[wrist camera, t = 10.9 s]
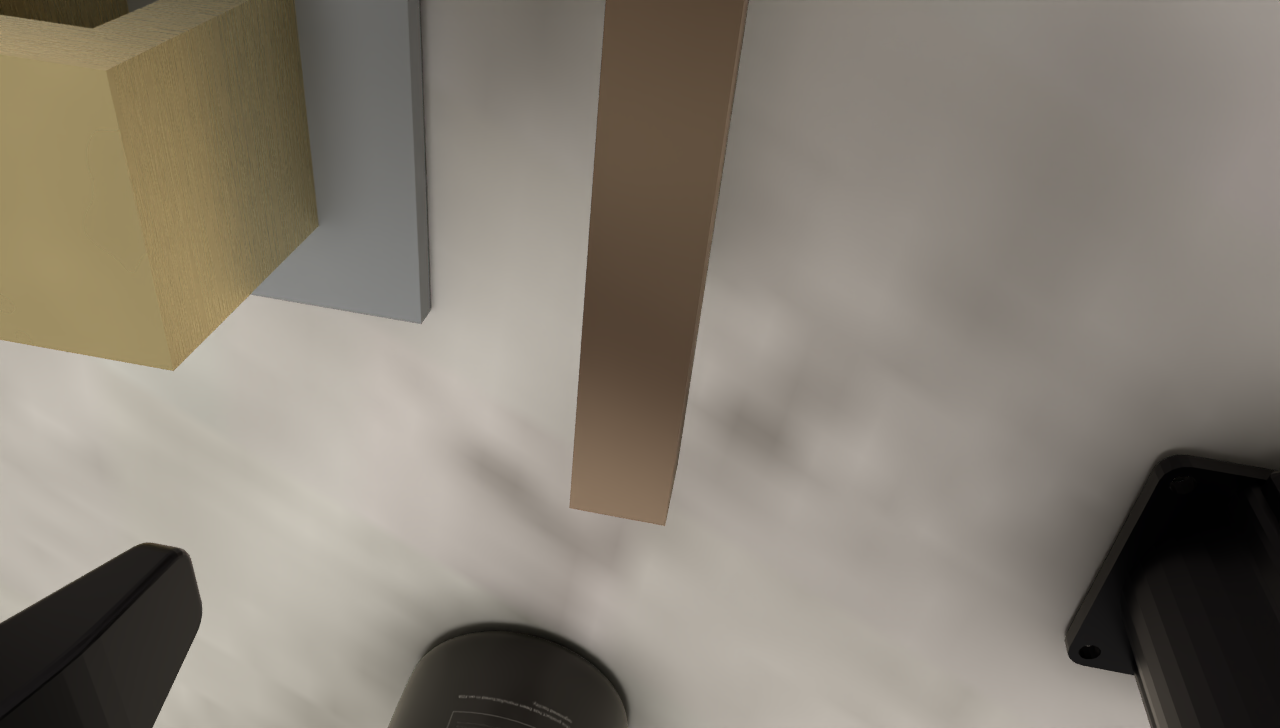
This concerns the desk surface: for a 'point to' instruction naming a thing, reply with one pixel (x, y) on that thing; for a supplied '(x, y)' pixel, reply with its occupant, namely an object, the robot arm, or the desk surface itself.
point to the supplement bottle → (507, 686)
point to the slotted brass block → (146, 169)
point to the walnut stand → (650, 243)
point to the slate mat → (361, 161)
